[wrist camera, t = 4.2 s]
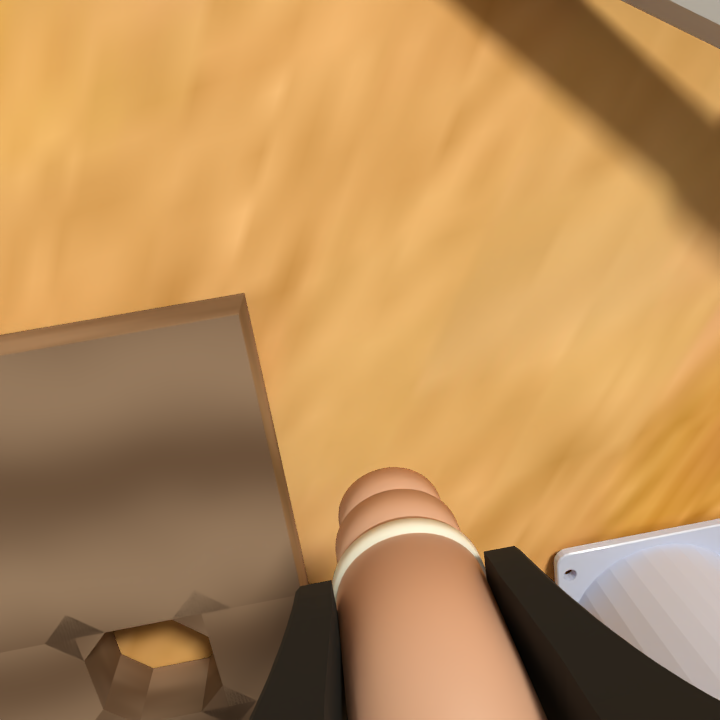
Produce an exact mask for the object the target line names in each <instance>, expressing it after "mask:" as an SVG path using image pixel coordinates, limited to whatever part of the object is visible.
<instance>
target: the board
mask: <svg viewBox="0 0 720 720" xmlns="http://www.w3.org/2000/svg"><path fill="white" fill-rule="evenodd" d="M304 585H309V583H308V579H307V574H306V569H305V565H304V560H303V556H302V551H301V547H300V542H299V538H298V533H297V529H296V524H295V520H294V515H293V511H292V506H291V502H290V497H289V493H288V488H287V484H286V479H285V475H284V470H283V466H282V461H281V457H280V452H279V448H278V443H277V438H276V434H275V429H274V425H273V420H272V416H271V411H270V407H269V402H268V398H267V393H266V389H265V384H264V380H263V375H262V371H261V366H260V362H259V357H258V353H257V348H256V344H255V339H254V335H253V330H252V326H251V321H250V317H249V312H248V307H247V303H246V298H245V294H244V293H242V294H236V295H230V296H225V297H219V298H213V299H207V300H201V301H196V302H190V303H184V304H178V305H172V306H167V307H161V308H155V309H149V310H143V311H138V312H132V313H126V314H120V315H114V316H109V317H103V318H97V319H91V320H85V321H79V322H74V323H68V324H62V325H56V326H50V327H45V328H39V329H33V330H27V331H21V332H16V333H10V334H4V335H0V720H249V718H250V716H251V714H252V712H253V710H254V707H255V705H256V703H257V701H258V698H259V696H260V694H261V692H262V690H263V687H264V685H265V683H266V681H267V678H268V676H269V673H270V671H271V668H272V666H273V663H274V660H275V658H276V655H277V652H278V650H279V647H280V645H281V642H282V639H283V636H284V633H285V630H286V627H287V624H288V620H289V617H290V614H291V610H292V606H293V602H294V597H295V592H296V591H297V590H298V588H299V587H300V586H304ZM167 620H174V621H176V622H178V623H180V624H182V625H184V626H187V627H189V628H191V629H193V630H195V631H197V632H199V633H201V634H203V635H206V636H208V638H209V641H210V644H211V648H212V651H213V654H212V655H211V657H210V658H204V659H199V660H194V661H189V662H184V663H179V664H174V665H169V666H164V667H159V668H154V669H153V668H151V667H149V666H147V665H144V664H142V663H140V662H138V661H135V660H133V659H131V658H129V657H126V656H124V655H122V654H121V653H120V650H119V647H118V644H117V642H116V639H115V636H114V634H113V631H115V630H120V629H126V628H131V627H136V626H141V625H146V624H151V623H157V622H162V621H167Z"/></svg>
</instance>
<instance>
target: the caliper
mask: <svg viewBox="0 0 720 720" xmlns="http://www.w3.org/2000/svg"><path fill="white" fill-rule="evenodd" d="M621 1H623V2H626V3H628V4H630V5H632V6H634V7H636V8H638V9H640V10H642V11H644V12H646V13H648V14H650V15H652V16H654V17H656V18H658V19H660V20H662V21H664V22H666V23H668V24H670V25H672V26H674V27H676V28H678V29H680V30H682V31H684V32H686V33H688V34H690V35H693V36H695V37H697V38H699V39H701V40H703V41H705V42H707V43H709V44H711V45H713V46H715V47H717V48H719V49H720V0H621Z"/></svg>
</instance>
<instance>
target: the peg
mask: <svg viewBox="0 0 720 720" xmlns="http://www.w3.org/2000/svg"><path fill="white" fill-rule="evenodd" d="M339 525H340V528H339V531H338V533H337V538H336V556H337V566H336V569H335V572H334V576H333V581H332V586H333V591H334V597H335V602H336V607H337V612H338V622H339V632H340V643H341V654H342V666H343V676H344V686H345V697H346V707H347V717H348V720H548V719H547V717H546V715H545V712H544V710H543V708H542V705H541V703H540V701H539V699H538V696H537V694H536V692H535V689H534V687H533V685H532V682H531V680H530V678H529V676H528V673H527V671H526V669H525V666H524V664H523V662H522V659H521V657H520V655H519V653H518V650H517V648H516V646H515V643H514V641H513V639H512V636H511V634H510V632H509V630H508V627H507V625H506V623H505V620H504V618H503V616H502V614H501V611H500V609H499V607H498V604H497V602H496V600H495V597H494V595H493V593H492V591H491V588H490V586H489V584H488V581H487V579H486V570H485V567H484V565H483V562H482V560H481V558H480V555H479V553H478V551H477V550H476V548H475V546H474V545H473V543H472V542H471V541H470V540H469V539H468V538H467V537H466V536H465V535H464V534H463V533H462V532H461V531H460V528H459V526H458V524H457V521H456V519H455V517H454V515H453V513H452V512H451V511H450V509H449V508H448V507H447V506H446V505H445V504H444V503H443V502H442V501H441V500H440V497H439V495H438V492H437V491H436V489H435V487H434V486H433V484H432V483H431V482H430V481H429V480H428V479H427V478H425V477H424V476H423V475H421V474H419V473H417V472H415V471H412V470H410V469H405V468H398V467H389V468H382V469H378V470H375V471H372V472H370V473H368V474H366V475H364V476H362V477H361V478H359V479H358V480H357V481H355V482H354V483H353V484H352V485H351V486H350V487H349V488H348V490H347V491H346V493H345V494H344V496H343V498H342V501H341V503H340V507H339Z"/></svg>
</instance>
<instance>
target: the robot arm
mask: <svg viewBox="0 0 720 720" xmlns="http://www.w3.org/2000/svg"><path fill="white" fill-rule="evenodd" d="M484 558H485V569H486V579H487V581H488V584H489V586H490V588H491V591H492V593H493V595H494V597H495V600H496V602H497V604H498V607H499V609H500V611H501V614H502V616H503V618H504V620H505V623H506V625H507V627H508V630H509V632H510V634H511V636H512V639H513V641H514V643H515V646H516V648H517V650H518V653H519V655H520V657H521V659H522V662H523V664H524V666H525V669H526V671H527V673H528V676H529V678H530V680H531V682H532V685H533V687H534V689H535V692H536V694H537V696H538V699H539V701H540V703H541V705H542V708H543V710H544V712H545V715H546V717H547V719H548V720H720V519H715V520H710V521H704V522H699V523H694V524H689V525H684V526H679V527H673V528H668V529H663V530H658V531H653V532H648V533H643V534H637V535H632V536H627V537H622V538H617V539H612V540H607V541H601V542H596V543H591V544H586V545H581V546H576V547H571V548H566V549H563V550H561V551H559V552H558V553H557V554H556V556H555V558H554V574H555V582H554V581H552V580H551V579H550V578H549V577H548V576H547V575H546V574H545V573H544V572H543V571H542V570H540V569H539V568H538V567H537V566H536V565H535V564H534V563H533V562H532V561H531V560H530V559H529V558H528V557H527V556H526V555H525V554H524V553H523V552H522V551H521V550H519V549H518V548H516V547H515V546H512V547H506V548H501V549H496V550H490V551H485V552H484ZM568 570H572V571H571V572H570V573H568V574H564V573H565V572H566V571H568ZM249 720H348V717H347V707H346V697H345V686H344V676H343V666H342V654H341V643H340V632H339V622H338V612H337V607H336V602H335V597H334V591H333V586H332V581H331V580H330V581H325V582H320V583H314V584H309V585H304V586H300V587H299V588H298V590H297V591H296V592H295V597H294V602H293V606H292V610H291V614H290V617H289V620H288V624H287V627H286V630H285V633H284V636H283V639H282V642H281V645H280V647H279V650H278V652H277V655H276V658H275V660H274V663H273V666H272V668H271V671H270V673H269V676H268V678H267V681H266V683H265V685H264V687H263V690H262V692H261V694H260V696H259V698H258V701H257V703H256V705H255V707H254V710H253V712H252V714H251V716H250V718H249Z"/></svg>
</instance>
